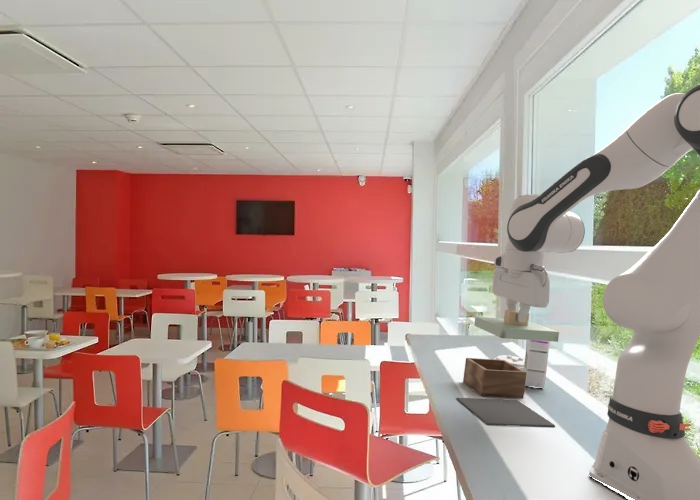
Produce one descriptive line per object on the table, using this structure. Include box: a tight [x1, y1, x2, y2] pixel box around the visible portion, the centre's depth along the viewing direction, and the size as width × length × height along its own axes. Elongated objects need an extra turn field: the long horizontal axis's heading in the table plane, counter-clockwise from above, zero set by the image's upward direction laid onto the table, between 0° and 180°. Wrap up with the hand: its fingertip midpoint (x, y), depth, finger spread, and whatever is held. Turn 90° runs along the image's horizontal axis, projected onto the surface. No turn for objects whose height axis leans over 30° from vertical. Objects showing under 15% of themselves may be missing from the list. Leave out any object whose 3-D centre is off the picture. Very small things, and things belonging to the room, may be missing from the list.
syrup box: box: [524, 340, 551, 389], centre depth 162 cm, size 6×6×14 cm
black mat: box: [456, 397, 556, 428], centre depth 135 cm, size 17×17×1 cm
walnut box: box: [462, 357, 527, 399], centre depth 153 cm, size 12×12×7 cm
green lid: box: [473, 309, 560, 343], centre depth 133 cm, size 14×14×5 cm
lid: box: [493, 354, 525, 371], centre depth 175 cm, size 13×13×5 cm
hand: (516, 320), depth 133 cm, fingers closed on green lid, 2 cm apart
